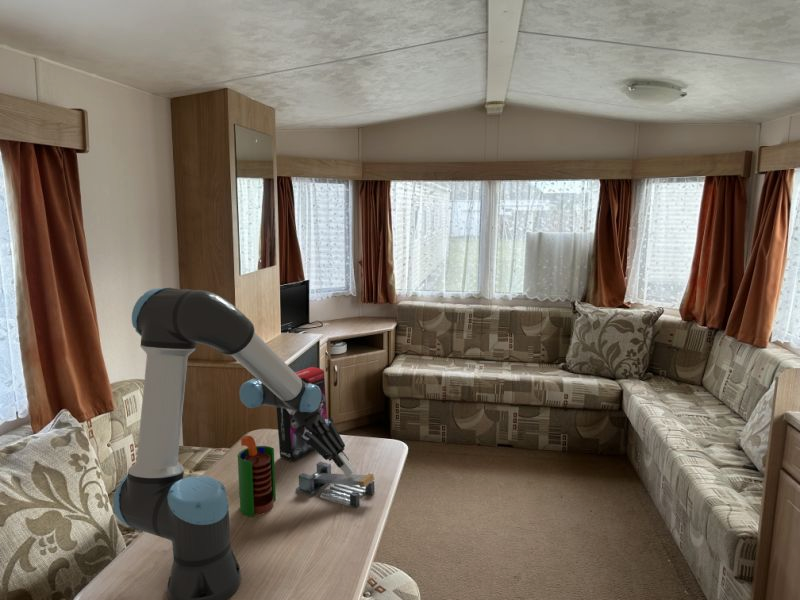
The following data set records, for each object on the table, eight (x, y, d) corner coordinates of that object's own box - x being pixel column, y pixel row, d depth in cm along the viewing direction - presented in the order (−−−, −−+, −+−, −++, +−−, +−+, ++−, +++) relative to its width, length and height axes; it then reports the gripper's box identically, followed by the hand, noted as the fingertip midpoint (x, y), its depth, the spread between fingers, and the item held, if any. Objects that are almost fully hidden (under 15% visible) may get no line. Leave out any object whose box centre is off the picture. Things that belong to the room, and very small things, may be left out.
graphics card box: (291, 463, 181) (287, 381, 176) (277, 457, 185) (273, 378, 180) (329, 445, 194) (326, 368, 190) (315, 440, 198) (311, 365, 194)
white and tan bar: (307, 485, 164) (364, 488, 154) (305, 477, 164) (363, 480, 154) (318, 477, 169) (374, 480, 158) (316, 470, 169) (373, 472, 158)
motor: (264, 518, 149) (260, 447, 146) (233, 515, 151) (228, 445, 148) (280, 499, 159) (276, 432, 156) (250, 496, 161) (246, 429, 157)
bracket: (354, 509, 153) (354, 492, 152) (295, 491, 163) (294, 475, 162) (375, 491, 162) (375, 475, 162) (318, 475, 172) (318, 460, 172)
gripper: (294, 408, 157) (345, 477, 152) (322, 393, 168) (371, 457, 163) (280, 422, 160) (330, 490, 155) (309, 407, 171) (356, 470, 166)
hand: (351, 473), depth 159 cm, fingers closed
